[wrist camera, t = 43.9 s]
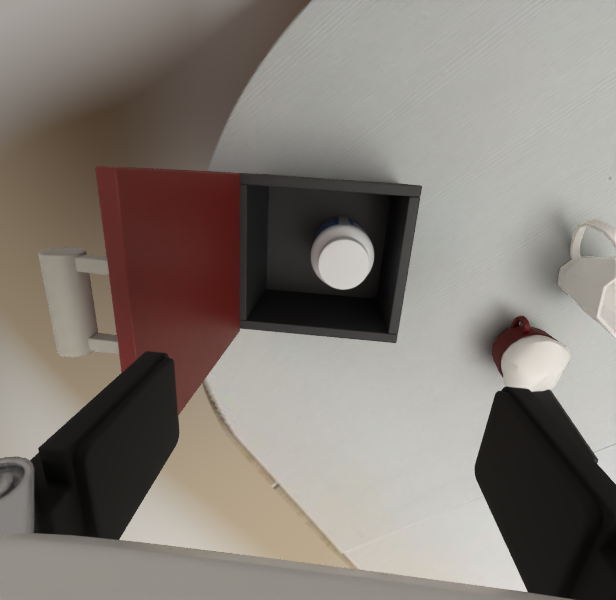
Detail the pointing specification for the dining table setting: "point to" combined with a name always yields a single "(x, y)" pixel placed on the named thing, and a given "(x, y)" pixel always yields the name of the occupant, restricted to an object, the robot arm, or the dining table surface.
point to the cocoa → (535, 368)
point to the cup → (592, 278)
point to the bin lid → (155, 272)
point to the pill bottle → (342, 253)
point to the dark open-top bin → (297, 255)
